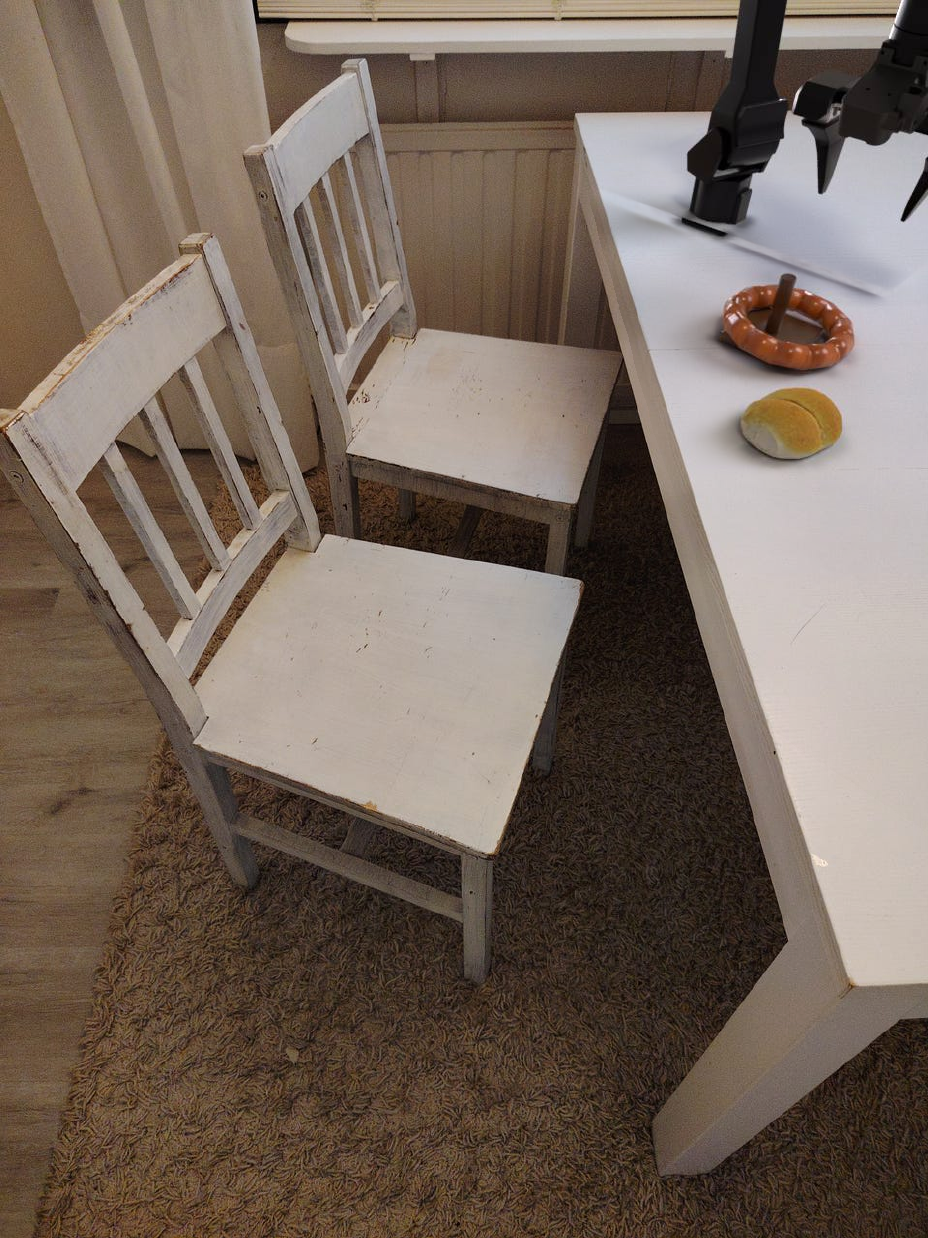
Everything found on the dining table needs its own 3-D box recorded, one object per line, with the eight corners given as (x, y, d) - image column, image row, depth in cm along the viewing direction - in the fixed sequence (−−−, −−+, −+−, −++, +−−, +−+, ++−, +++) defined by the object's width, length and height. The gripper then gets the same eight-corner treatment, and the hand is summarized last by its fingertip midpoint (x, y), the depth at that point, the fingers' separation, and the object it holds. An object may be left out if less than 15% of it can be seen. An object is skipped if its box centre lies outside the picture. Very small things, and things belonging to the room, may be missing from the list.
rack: (718, 339, 87) (734, 278, 82) (757, 311, 91) (774, 250, 86) (784, 367, 84) (804, 305, 78) (821, 336, 87) (843, 275, 82)
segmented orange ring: (696, 330, 85) (703, 310, 84) (760, 287, 92) (768, 267, 90) (809, 390, 80) (819, 370, 78) (869, 339, 87) (879, 320, 85)
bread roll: (852, 438, 76) (868, 403, 73) (787, 473, 73) (801, 438, 70) (787, 396, 80) (799, 361, 77) (723, 427, 77) (732, 392, 74)
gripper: (787, 25, 71) (742, 204, 84) (996, 74, 63) (912, 265, 75) (848, -2, 76) (797, 171, 88) (1049, 40, 68) (962, 224, 80)
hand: (861, 206), depth 83 cm, fingers open, 9 cm apart
